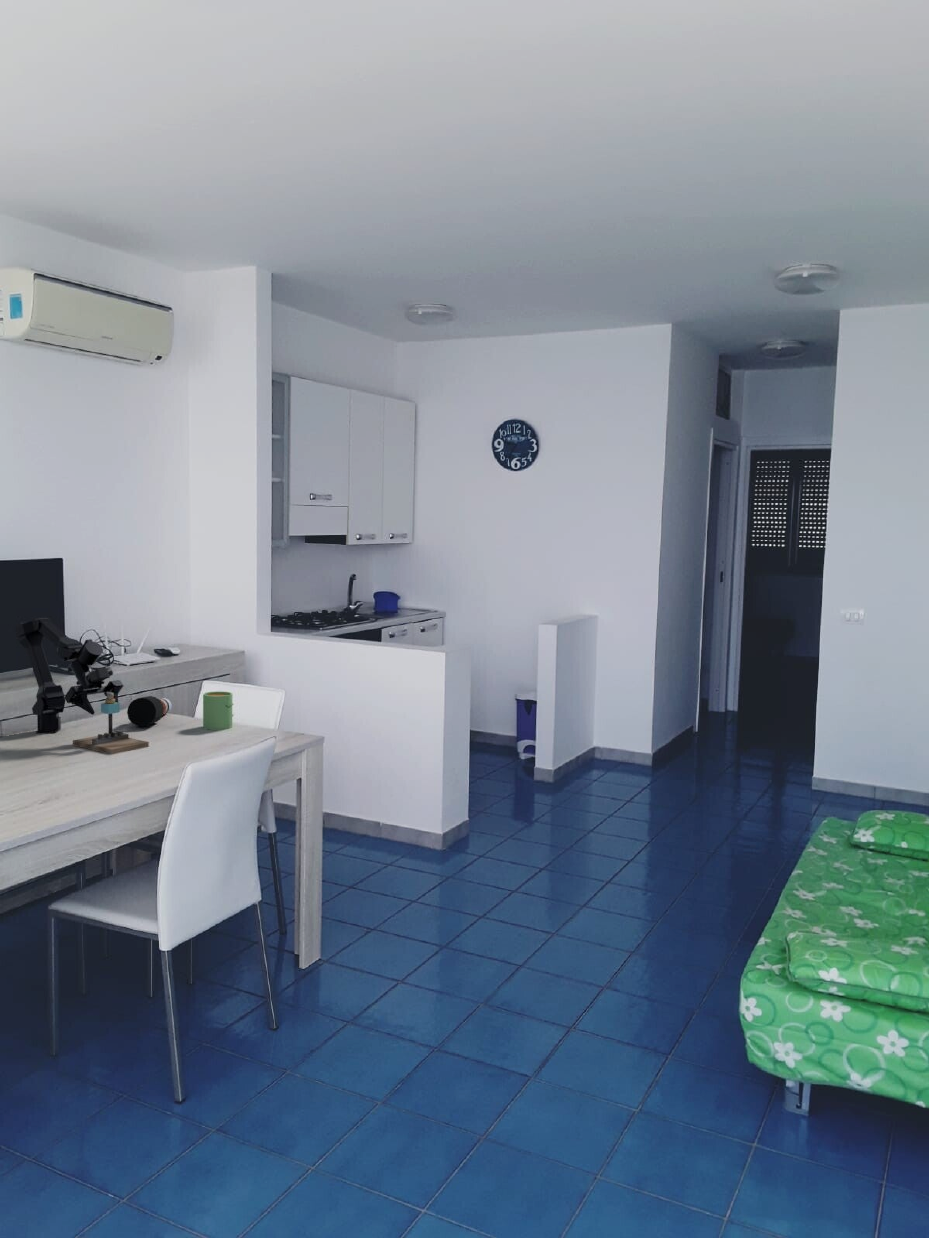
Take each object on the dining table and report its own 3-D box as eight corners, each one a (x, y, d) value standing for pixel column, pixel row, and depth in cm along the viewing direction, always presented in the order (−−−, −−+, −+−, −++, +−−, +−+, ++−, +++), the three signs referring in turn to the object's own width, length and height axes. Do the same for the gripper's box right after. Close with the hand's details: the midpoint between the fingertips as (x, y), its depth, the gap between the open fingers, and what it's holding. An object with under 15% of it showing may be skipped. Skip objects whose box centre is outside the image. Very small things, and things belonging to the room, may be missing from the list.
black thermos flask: (172, 722, 381) (185, 699, 382) (147, 731, 348) (161, 706, 348) (149, 710, 381) (162, 687, 381) (122, 717, 347) (135, 692, 348)
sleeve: (101, 712, 319) (101, 703, 319) (111, 710, 322) (111, 701, 322) (108, 714, 317) (108, 704, 317) (119, 712, 320) (119, 703, 320)
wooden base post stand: (72, 744, 321) (71, 692, 319) (109, 737, 332) (109, 686, 330) (111, 754, 309) (111, 699, 308) (148, 746, 321) (148, 693, 319)
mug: (229, 730, 348) (229, 696, 347) (199, 729, 348) (199, 695, 347) (238, 723, 361) (238, 690, 360) (209, 722, 361) (209, 689, 360)
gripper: (69, 661, 315) (91, 700, 309) (119, 656, 330) (141, 693, 325) (55, 683, 320) (76, 721, 315) (105, 676, 335) (126, 713, 330)
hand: (106, 711), depth 321 cm, fingers open, 9 cm apart
